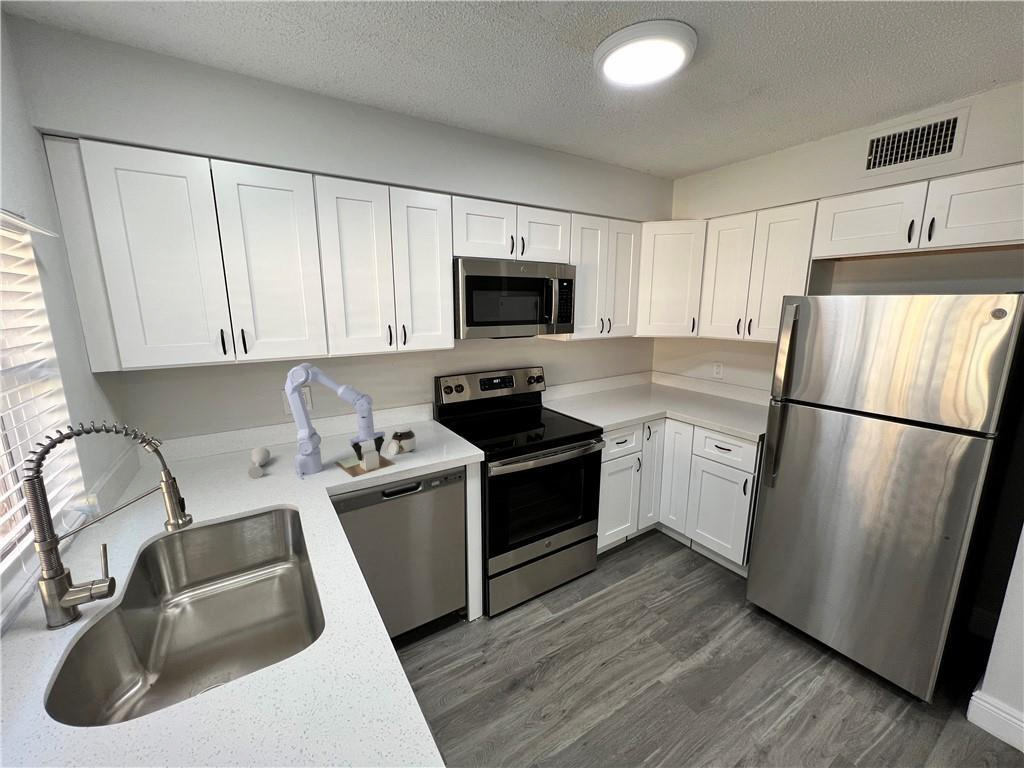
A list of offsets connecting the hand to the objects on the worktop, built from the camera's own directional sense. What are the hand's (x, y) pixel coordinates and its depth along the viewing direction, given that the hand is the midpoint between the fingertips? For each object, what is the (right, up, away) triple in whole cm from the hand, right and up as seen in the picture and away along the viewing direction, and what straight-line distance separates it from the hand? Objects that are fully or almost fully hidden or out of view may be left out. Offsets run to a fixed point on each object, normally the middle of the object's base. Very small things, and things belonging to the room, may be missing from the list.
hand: (369, 457), depth 169 cm
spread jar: (+8, -1, +18) cm, 20 cm away
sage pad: (-9, -3, +6) cm, 11 cm away
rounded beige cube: (0, -4, +1) cm, 4 cm away
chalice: (-42, -5, -7) cm, 43 cm away
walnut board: (-3, -4, +5) cm, 7 cm away
